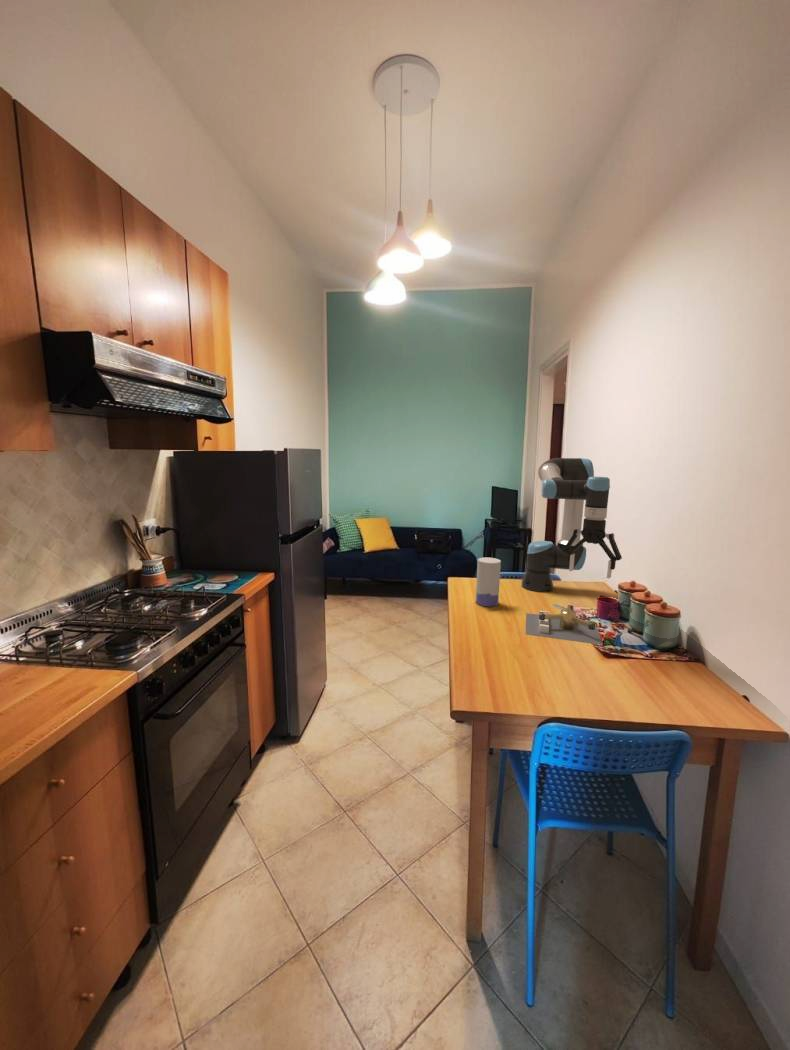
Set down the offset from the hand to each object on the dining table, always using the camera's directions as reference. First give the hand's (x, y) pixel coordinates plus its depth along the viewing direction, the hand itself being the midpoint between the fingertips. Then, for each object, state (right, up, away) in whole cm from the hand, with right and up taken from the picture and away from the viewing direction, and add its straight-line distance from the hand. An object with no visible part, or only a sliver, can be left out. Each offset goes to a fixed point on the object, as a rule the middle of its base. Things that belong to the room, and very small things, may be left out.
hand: (589, 574), depth 161 cm
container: (-32, -17, +30) cm, 47 cm away
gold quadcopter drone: (-7, -21, 0) cm, 22 cm away
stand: (-10, -22, +2) cm, 24 cm away
